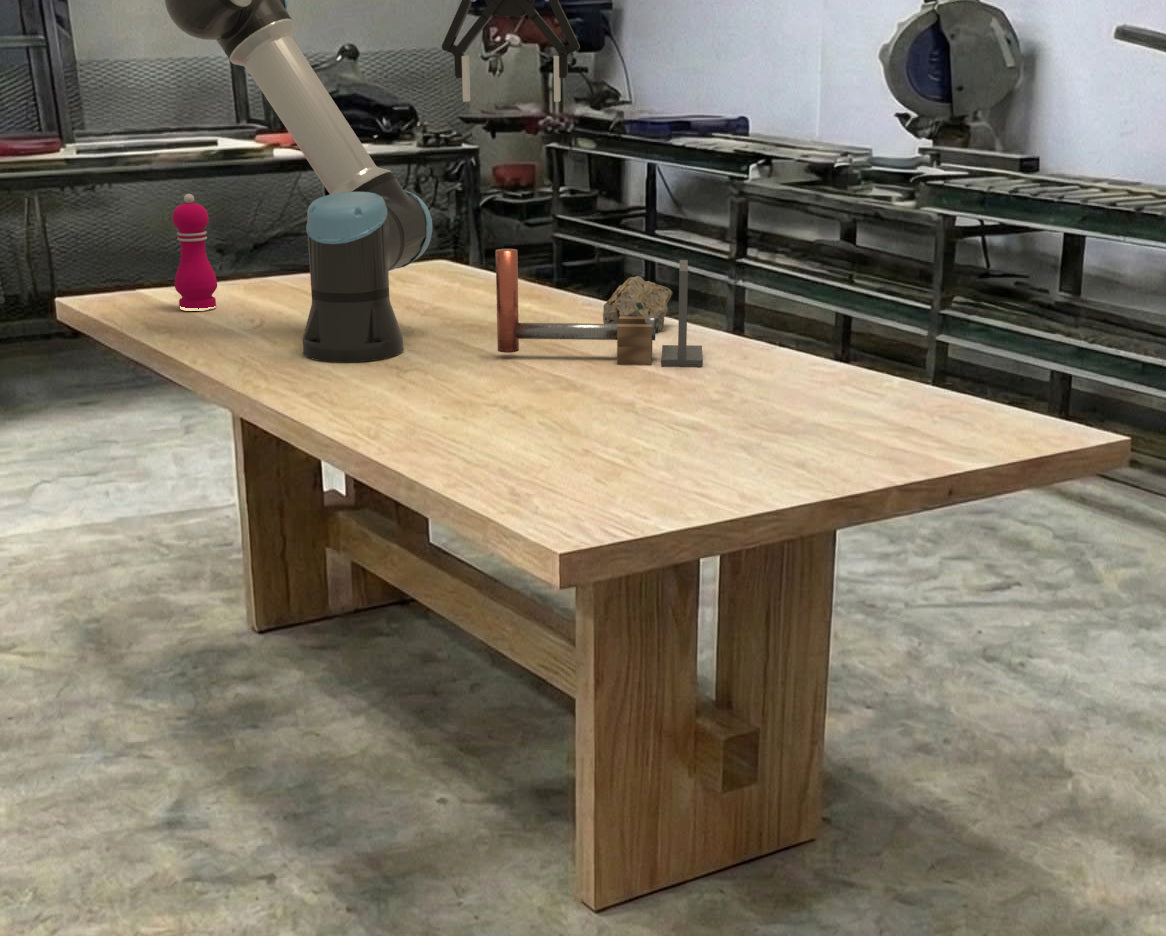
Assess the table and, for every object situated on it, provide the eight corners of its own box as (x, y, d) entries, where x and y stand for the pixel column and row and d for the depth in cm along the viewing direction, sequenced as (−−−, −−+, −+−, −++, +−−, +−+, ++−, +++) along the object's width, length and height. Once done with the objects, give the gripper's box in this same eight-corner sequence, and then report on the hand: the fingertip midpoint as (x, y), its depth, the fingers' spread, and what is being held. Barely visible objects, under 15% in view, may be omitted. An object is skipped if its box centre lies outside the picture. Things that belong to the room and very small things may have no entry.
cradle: (617, 364, 211) (617, 326, 209) (619, 352, 219) (619, 316, 217) (651, 364, 211) (651, 327, 209) (652, 352, 218) (652, 316, 217)
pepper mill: (168, 311, 251) (158, 195, 245) (191, 304, 257) (181, 190, 252) (205, 313, 249) (195, 196, 243) (226, 306, 255) (218, 192, 250)
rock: (618, 332, 227) (630, 270, 227) (595, 331, 232) (606, 270, 232) (678, 348, 234) (689, 287, 234) (653, 346, 239) (664, 287, 239)
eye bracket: (661, 366, 210) (662, 270, 206) (662, 351, 219) (663, 259, 215) (702, 366, 209) (704, 271, 205) (701, 352, 219) (703, 260, 215)
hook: (496, 352, 214) (494, 251, 210) (498, 347, 217) (497, 248, 213) (658, 354, 213) (659, 253, 208) (658, 349, 216) (660, 249, 211)
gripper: (419, -51, 206) (424, 102, 212) (593, -52, 204) (593, 102, 210) (428, -49, 213) (433, 99, 219) (596, -49, 211) (596, 100, 217)
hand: (511, 101), depth 215 cm, fingers open, 13 cm apart
